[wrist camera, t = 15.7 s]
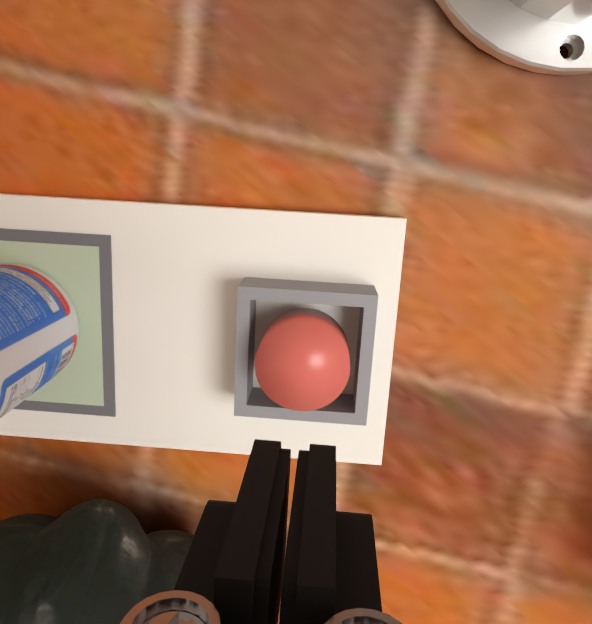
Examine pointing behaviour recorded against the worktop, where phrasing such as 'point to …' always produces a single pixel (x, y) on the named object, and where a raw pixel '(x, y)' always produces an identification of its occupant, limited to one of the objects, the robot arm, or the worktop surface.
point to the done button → (303, 360)
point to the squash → (84, 565)
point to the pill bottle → (32, 332)
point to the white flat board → (204, 320)
